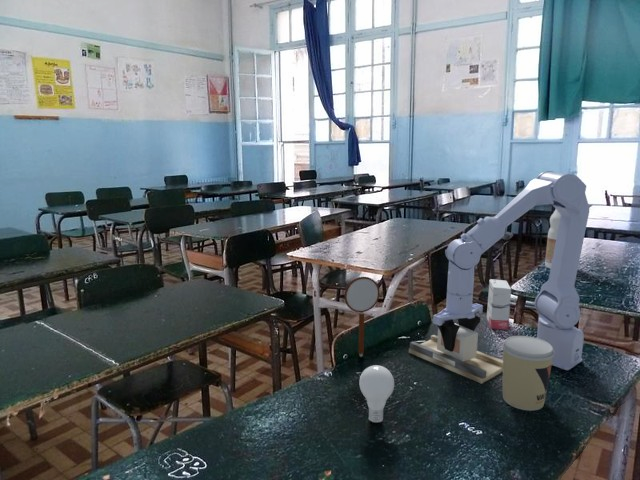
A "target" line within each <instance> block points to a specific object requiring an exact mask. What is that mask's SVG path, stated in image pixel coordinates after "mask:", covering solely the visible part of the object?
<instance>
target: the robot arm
mask: <svg viewBox="0 0 640 480" xmlns="http://www.w3.org/2000/svg"><path fill="white" fill-rule="evenodd" d="M586 190H587V184H585V182H584V181H582V179H580V178H579V176H578V175H576V174H573V173H561V172H555V171H553V170H552V171H551V170H546V171H543V172H541V173H539V174H538V175H537V177H536V178H533V179H532V180H530V181H529V182H528V184H527V185H526V186H525V187H524V188H523V189H522V191H520V192H519V193H518V194H517V195H516V196H515V197H514V198H513V199H512V200H511V201H509V203H507V204H506V205H505V206H504V207H503V208H502V209H501V210H500V211H498V213H497V214H495V215H494V216H485V217H484V218H482V217H479V219H478V220H476V223H477V224H476V225H474V226H473V227H472V228H471V229H469V230H468V231H467V232H466V233H462V234H461V235H460V238H458V239H457V238H456V239H454V240H452V241H451V242H450V243H449V244H448V245H447V248H446V249H445V250H444V251H445V252H444V253H445V257H446V258H447V260H448V271H447V282H446V283H447V286H446V301H445V302H446V303H445V308H443V309H442V310H441V311H439V312H438V313H436V314H433V316H432V324H434V325H436V326H437V329H438V328H439V330H440V332H441V335H442V338H443V343H444V348H445V349H446V350H448V351H450V352H452V351H453V350H454V346H455V338H456V335H457V332H458V330H459V328H460V326H463V327H465V328H468V329H470V330H472V331H475V330H476V328H477V326H478V325H479V324H480V323H481V317H480V316H478V315H476V314H479V315H481V314H483V310H484V308H483V307H484V305H483V304H480V303H477V302H476V303H473V300H474V299H473V298H474V297H473V296H474V282H475V266H477V265H478V264H479V263H480V260H481V256H482V255H483V254H484V253H485V252H486V251H488V250H489V248H491V247H492V246H494V245H495V244H496V243H497V242H498V241H500V240H501V239H502V238H503V237H504V236H505V232H506V228H508V226H510V225H511V224H512V223H514V222H515V221H516V220H518V219H519V218H520V217H522V216H523V215H524V214H526V213H527V212H529V211H530V210H531V209H532V208H534V207H536V206H547V205H552V206H553V207H554V208H555V209H557V211H558V212H559V213H560V214H561V217H560V222H559V228H558V233H557V238H556V243H555V249H554V254H553V259H552V264H551V269H550V268H549V269H550V270H549V275H548V280H547V281H545V282H544V283H543V284H541V286H540V287H541V288H540V291H539V293H538V295H536V297H535V299H534V308H535V309H536V311H537V312H538V322H537V323H538V324H537V331H536V332H537V334H536V338H538V339H541V340H544V341H546V342H548V343H549V344H550V345H551V346H552V347H553V350H554V356H553V359H552V365H551V366H553V367H556V368H558V369H561V370H565V371H570V370H571V369H572V368H574V367H576V366H577V365H578V364H580V363H581V362H583V358H582V356H583V348H584V339H585V336H584V331H583V330H582V329H579V328H577V327H576V326H575V325H577V324H578V322H579V320H580V318H581V312H582V311H581V309H580V298H581V297H580V296H579V293H578V291H577V290H576V287H575V283H576V279H577V274H578V269H579V264H580V260H581V258H580V257H581V255H582V249H583V244H584V239H585V234H586V229H587V225H588V220H589V215H590V214H589V213H590V205H589V203H588V201H589V200H588V199H587V195H586ZM455 320H457V323H458V325H460V326H458V325H456V324H457V323H456V324H454V323H455V322H454V321H455Z"/></svg>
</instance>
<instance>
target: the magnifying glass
mask: <svg viewBox="0 0 640 480" xmlns="http://www.w3.org/2000/svg"><path fill="white" fill-rule="evenodd" d="M379 298H380V287H379V285H378V283H377V281H375V280H374V279H373V278H371V277H369V276H359V277H356V278H354V279H352V280H351V281H350V282H349V283H348V285H347V286H346V287H345V290H344V302H345V304H346V306H347V307H348V308H349V309H350V310H351V311H353V312H356V313H359V314H358V317H359V318H358V354H359V357H360V358H362V357H363V355H364V351H365V350H364V348H365V346H364V345H365V344H364V342H365V313H366V312H368V311H371V310H372V308H374V307H375V306H376V305H377V303H378V300H379Z"/></svg>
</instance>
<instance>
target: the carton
mask: <svg viewBox="0 0 640 480" xmlns="http://www.w3.org/2000/svg"><path fill="white" fill-rule="evenodd" d="M454 324H456V325H458V326H460V325H459V323H458V324H457V323H455V322H454ZM437 336H438V338H437V349H438V350H440V351H442V352H444V353H446V354H448V355H450V356H452V357H454V358H456V359H458V360H461V361H463V362H464V361H467V360H470V359H473V358H475V357H476V356H477V351H478V339H479V338H478V337H479V332H477V331H475V330H474V331H472V330H470V329H468V328H465V327H463V326H460V328H459V330H458V332H457V335H456V338H455V346H454V350H453V351H452V352H450V351H448V350H446V349H445V348H444V343H443V338H442V335H441V332H440V330H439V328H438V327H437Z"/></svg>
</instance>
